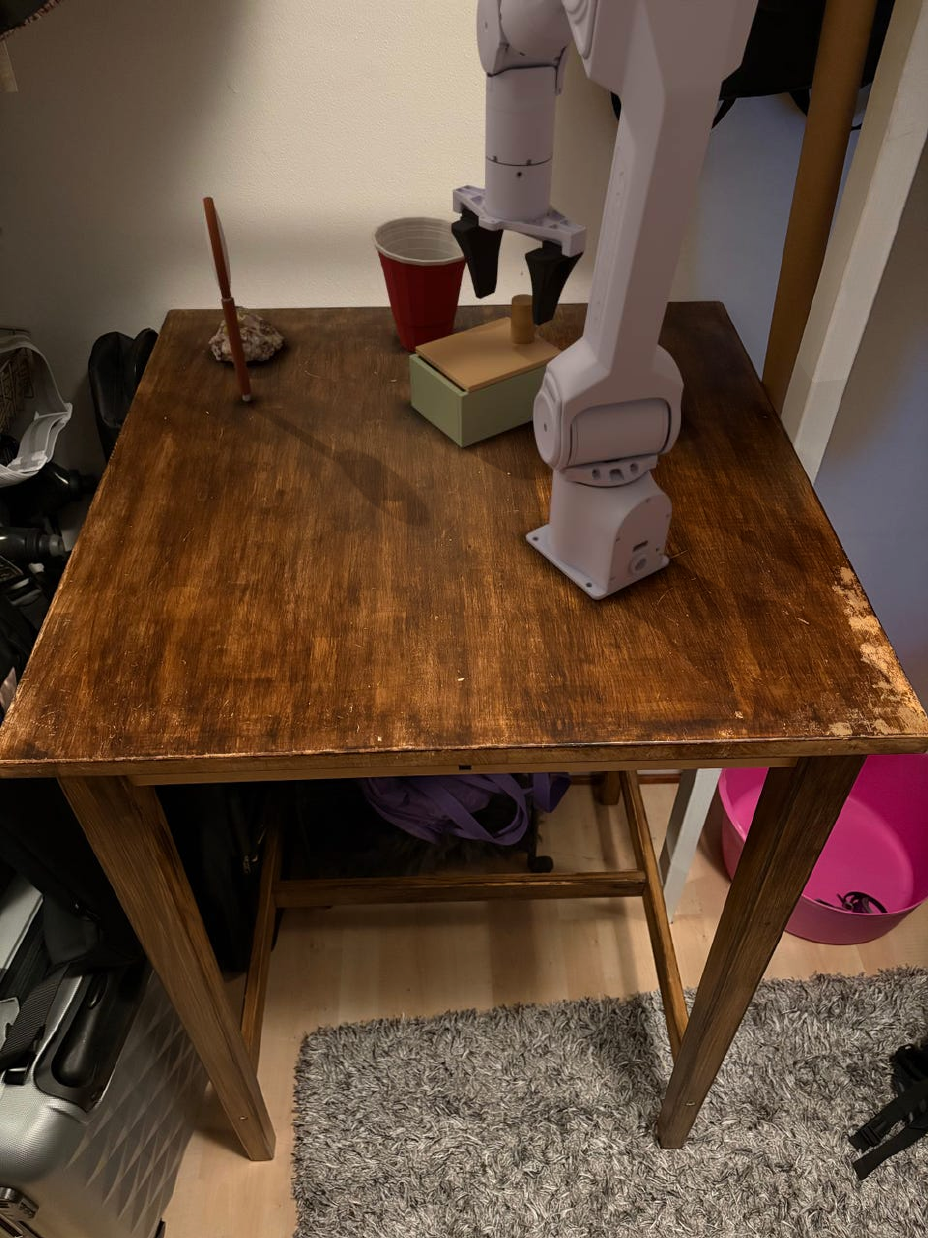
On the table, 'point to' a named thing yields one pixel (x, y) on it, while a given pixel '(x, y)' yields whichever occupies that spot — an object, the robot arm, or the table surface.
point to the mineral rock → (248, 338)
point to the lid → (491, 349)
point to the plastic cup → (420, 276)
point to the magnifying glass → (225, 291)
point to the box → (473, 402)
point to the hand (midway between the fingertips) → (513, 307)
